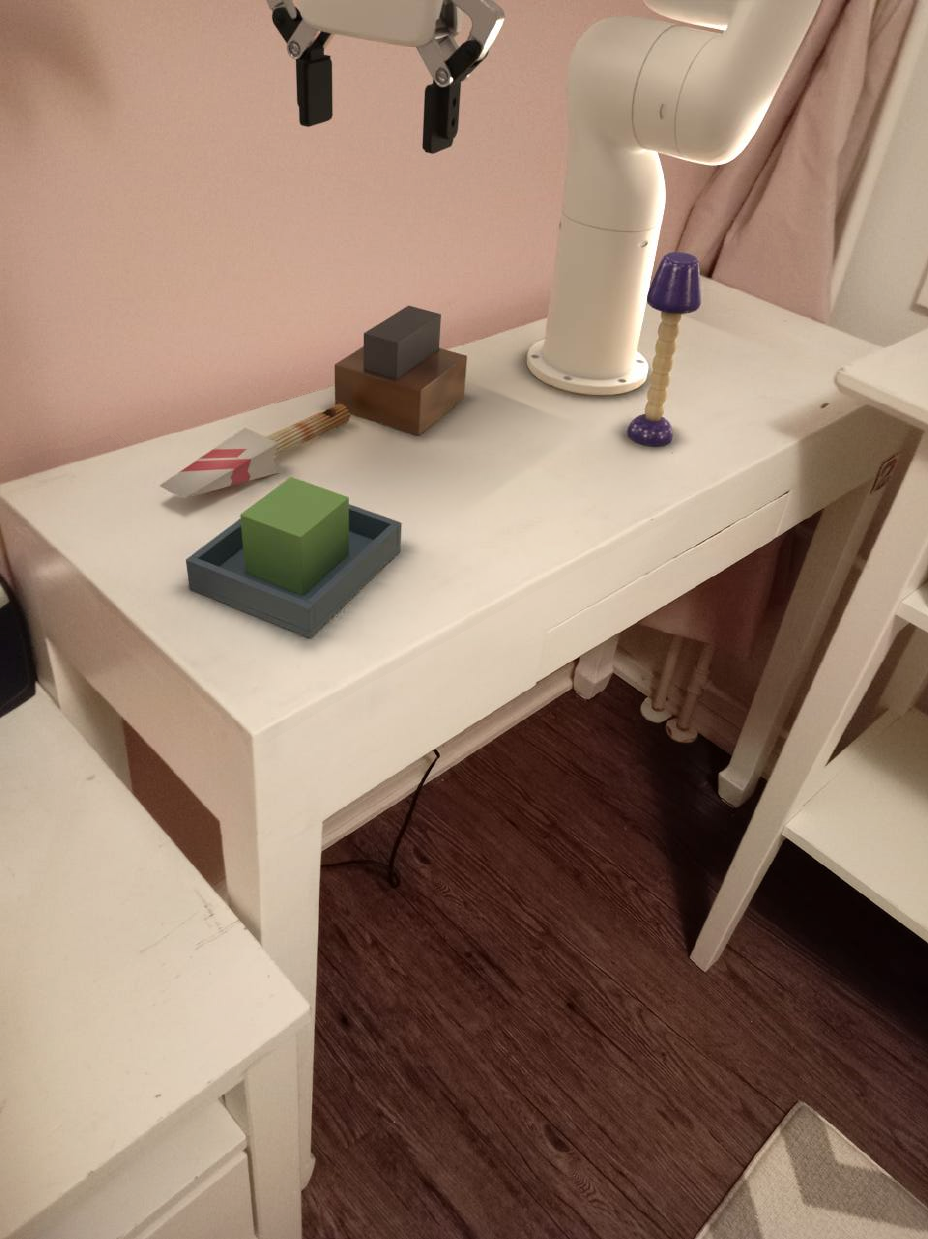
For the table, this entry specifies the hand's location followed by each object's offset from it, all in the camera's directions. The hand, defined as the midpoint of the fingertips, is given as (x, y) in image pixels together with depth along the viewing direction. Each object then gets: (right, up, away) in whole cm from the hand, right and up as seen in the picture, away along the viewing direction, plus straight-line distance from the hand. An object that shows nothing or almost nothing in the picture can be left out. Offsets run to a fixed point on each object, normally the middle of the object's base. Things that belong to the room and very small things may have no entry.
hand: (375, 135), depth 67 cm
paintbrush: (-11, -20, +16) cm, 28 cm away
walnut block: (0, -13, +26) cm, 29 cm away
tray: (-6, -29, +5) cm, 30 cm away
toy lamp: (+23, -16, +25) cm, 38 cm away
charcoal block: (0, -9, +24) cm, 25 cm away
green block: (-6, -29, +5) cm, 30 cm away
